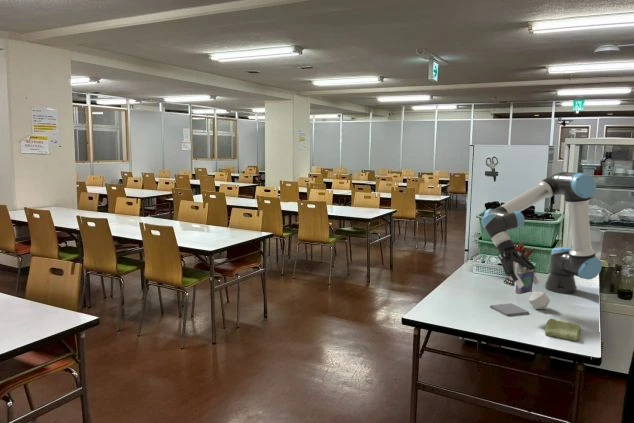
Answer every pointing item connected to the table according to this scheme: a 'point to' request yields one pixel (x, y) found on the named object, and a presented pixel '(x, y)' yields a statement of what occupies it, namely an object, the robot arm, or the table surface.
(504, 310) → the mat
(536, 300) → the die
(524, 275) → the flask
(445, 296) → the table surface
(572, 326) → the washcloth
